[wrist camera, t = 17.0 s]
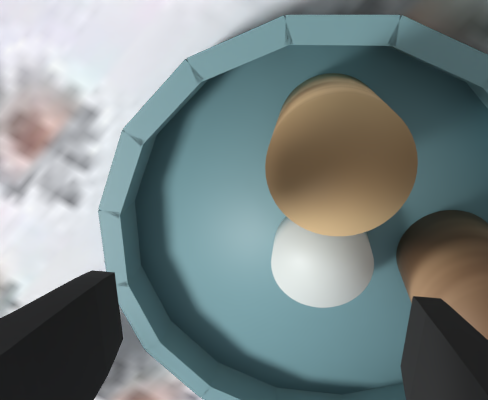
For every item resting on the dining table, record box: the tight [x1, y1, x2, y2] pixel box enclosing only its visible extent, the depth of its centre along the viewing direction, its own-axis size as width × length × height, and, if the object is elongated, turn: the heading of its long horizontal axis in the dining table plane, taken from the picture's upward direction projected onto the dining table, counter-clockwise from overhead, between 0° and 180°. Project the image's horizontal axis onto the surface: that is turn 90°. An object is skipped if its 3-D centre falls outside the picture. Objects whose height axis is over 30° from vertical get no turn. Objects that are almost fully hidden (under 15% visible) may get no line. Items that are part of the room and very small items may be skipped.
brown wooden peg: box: [396, 210, 488, 340], centre depth 17 cm, size 4×4×6 cm
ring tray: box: [98, 15, 488, 400], centre depth 20 cm, size 20×20×2 cm
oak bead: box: [265, 73, 418, 236], centre depth 15 cm, size 4×4×6 cm
